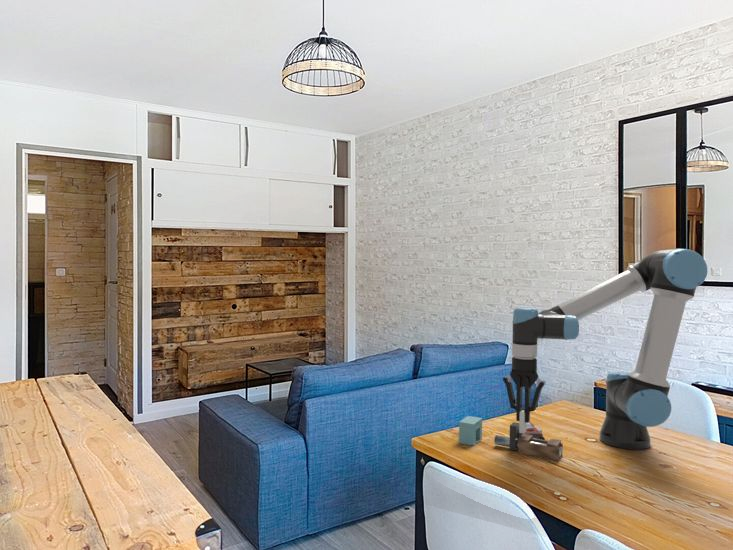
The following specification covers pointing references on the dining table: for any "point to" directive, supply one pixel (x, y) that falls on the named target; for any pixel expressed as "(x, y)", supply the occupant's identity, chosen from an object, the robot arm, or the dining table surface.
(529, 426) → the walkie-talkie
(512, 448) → the rod
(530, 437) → the sleeve
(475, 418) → the socket
